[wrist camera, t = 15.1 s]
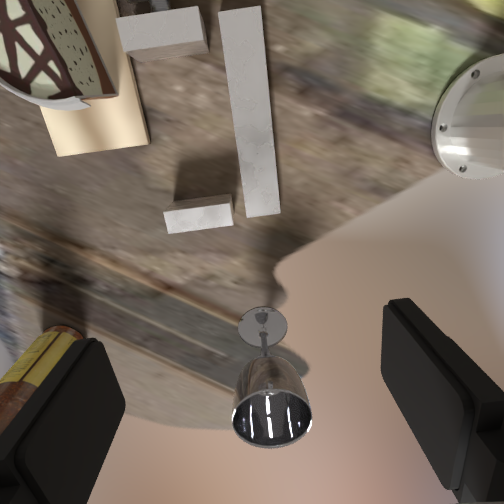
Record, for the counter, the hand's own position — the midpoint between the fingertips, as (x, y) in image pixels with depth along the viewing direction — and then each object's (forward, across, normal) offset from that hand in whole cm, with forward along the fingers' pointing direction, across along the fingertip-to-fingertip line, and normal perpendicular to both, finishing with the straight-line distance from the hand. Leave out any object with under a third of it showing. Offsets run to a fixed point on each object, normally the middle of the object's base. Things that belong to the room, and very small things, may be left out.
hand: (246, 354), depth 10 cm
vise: (+28, +2, -8) cm, 30 cm away
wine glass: (+28, 0, +20) cm, 35 cm away
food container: (+28, +15, -15) cm, 35 cm away
